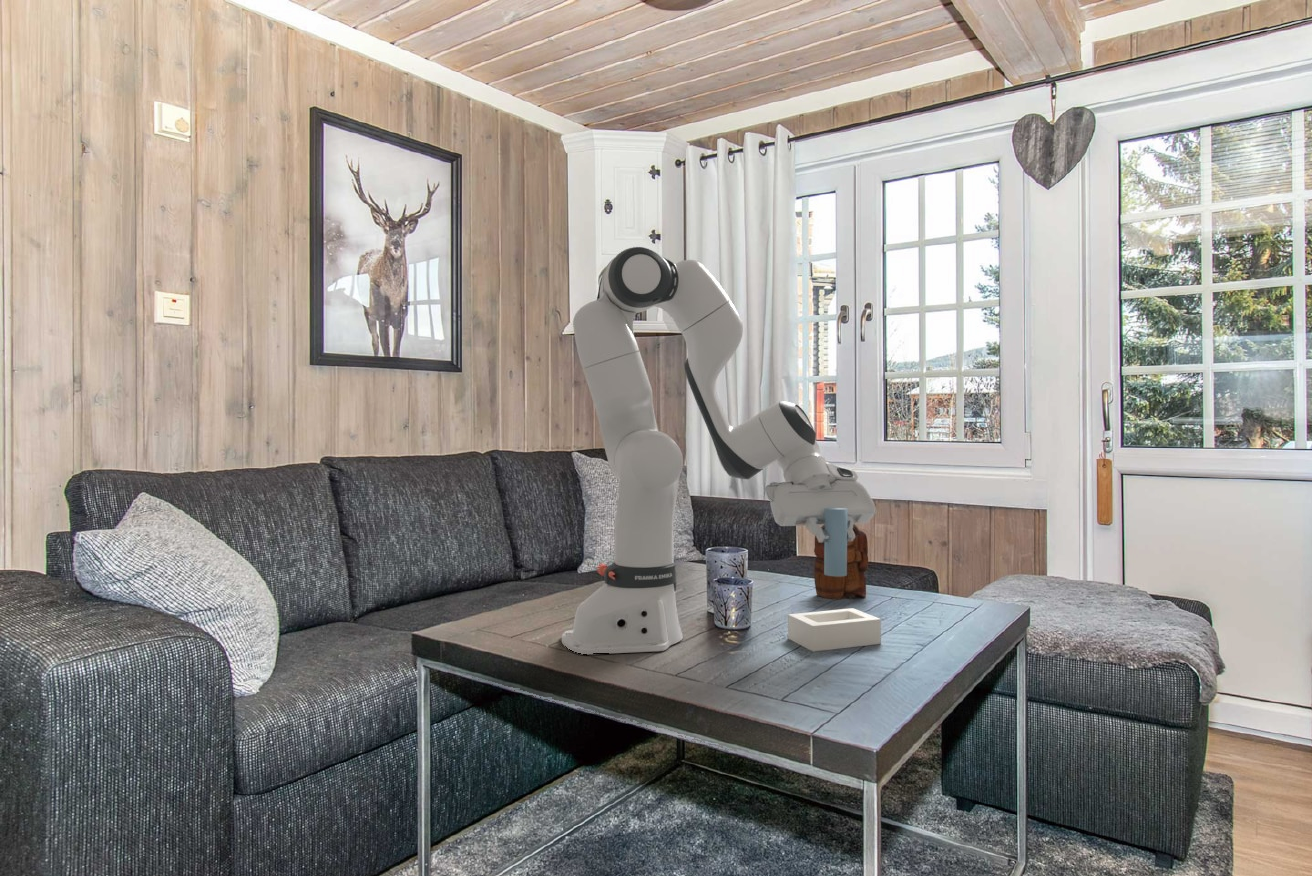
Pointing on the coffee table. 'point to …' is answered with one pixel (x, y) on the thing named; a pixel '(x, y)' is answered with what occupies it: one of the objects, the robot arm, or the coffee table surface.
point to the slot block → (834, 629)
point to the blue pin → (836, 542)
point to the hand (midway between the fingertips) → (837, 539)
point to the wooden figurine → (856, 567)
